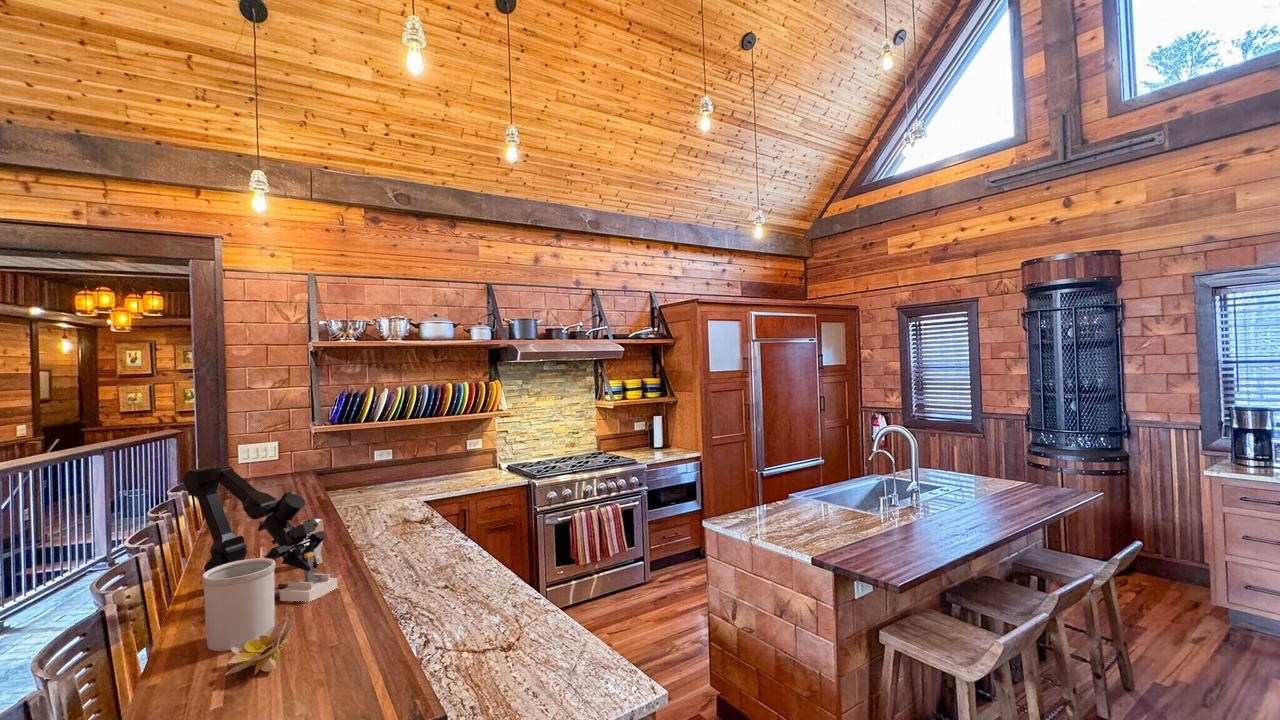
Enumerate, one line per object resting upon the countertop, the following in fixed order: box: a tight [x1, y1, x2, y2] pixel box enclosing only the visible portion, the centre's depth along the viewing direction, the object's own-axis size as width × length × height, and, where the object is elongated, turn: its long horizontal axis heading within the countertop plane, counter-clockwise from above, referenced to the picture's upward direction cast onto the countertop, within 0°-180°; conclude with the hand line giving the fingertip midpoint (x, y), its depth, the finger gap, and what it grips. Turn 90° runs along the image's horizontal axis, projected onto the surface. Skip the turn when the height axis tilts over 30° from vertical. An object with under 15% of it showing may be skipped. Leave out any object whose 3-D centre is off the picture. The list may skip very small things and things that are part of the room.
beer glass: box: [300, 518, 325, 565], centre depth 194 cm, size 7×7×15 cm
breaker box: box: [274, 572, 338, 603], centre depth 166 cm, size 19×11×5 cm, turn 78°
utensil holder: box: [201, 557, 277, 652], centre depth 138 cm, size 15×15×18 cm
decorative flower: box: [225, 619, 293, 676], centre depth 124 cm, size 15×11×10 cm
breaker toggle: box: [302, 552, 320, 583], centre depth 165 cm, size 3×5×9 cm, turn 168°
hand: (313, 568), depth 165 cm, fingers closed on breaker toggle, 2 cm apart
